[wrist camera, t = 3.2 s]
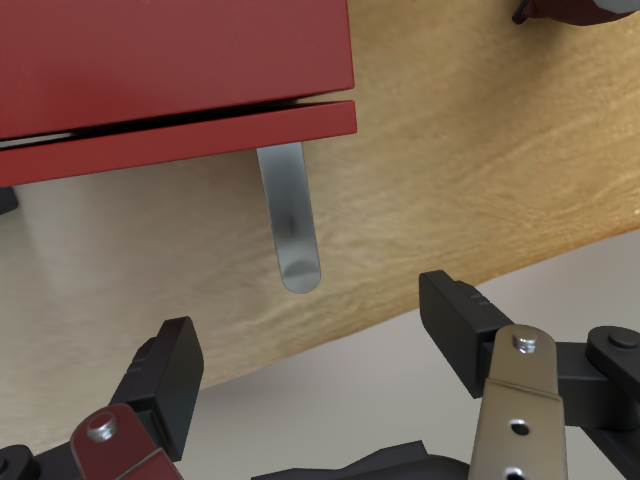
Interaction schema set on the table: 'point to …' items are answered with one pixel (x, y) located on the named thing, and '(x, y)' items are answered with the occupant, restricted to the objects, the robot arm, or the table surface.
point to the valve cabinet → (162, 59)
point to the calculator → (7, 200)
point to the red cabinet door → (205, 140)
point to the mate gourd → (576, 10)
